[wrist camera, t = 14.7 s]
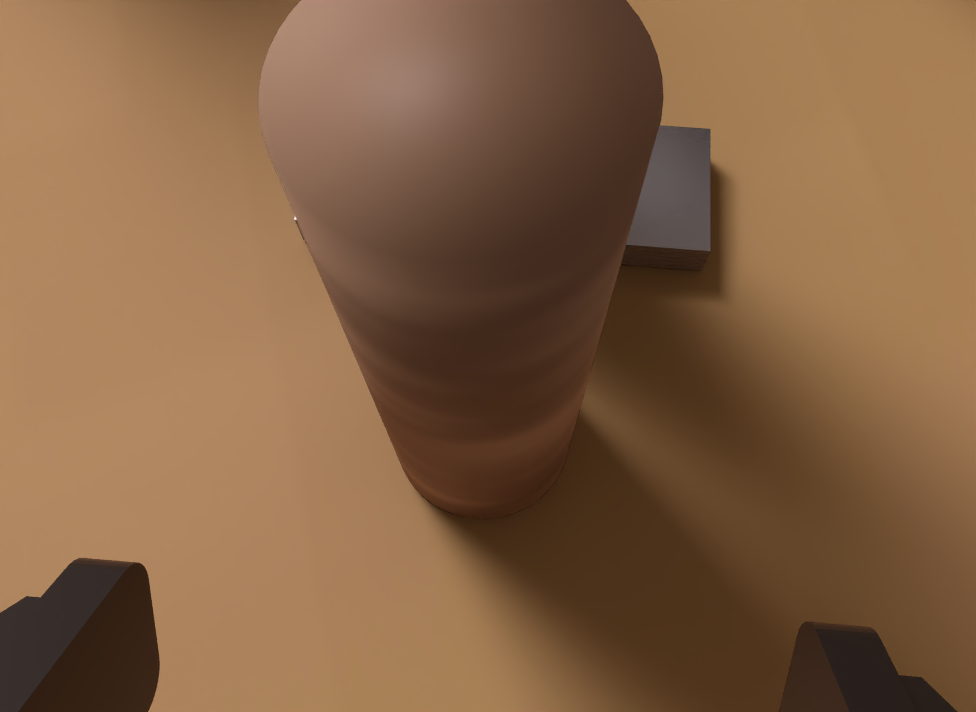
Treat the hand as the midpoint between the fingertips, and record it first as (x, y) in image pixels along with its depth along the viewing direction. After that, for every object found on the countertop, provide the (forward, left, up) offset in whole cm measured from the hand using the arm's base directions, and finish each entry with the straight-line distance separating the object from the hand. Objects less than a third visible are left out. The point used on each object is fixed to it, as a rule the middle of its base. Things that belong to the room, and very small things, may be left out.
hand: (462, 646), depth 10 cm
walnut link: (0, +5, -8) cm, 9 cm away
